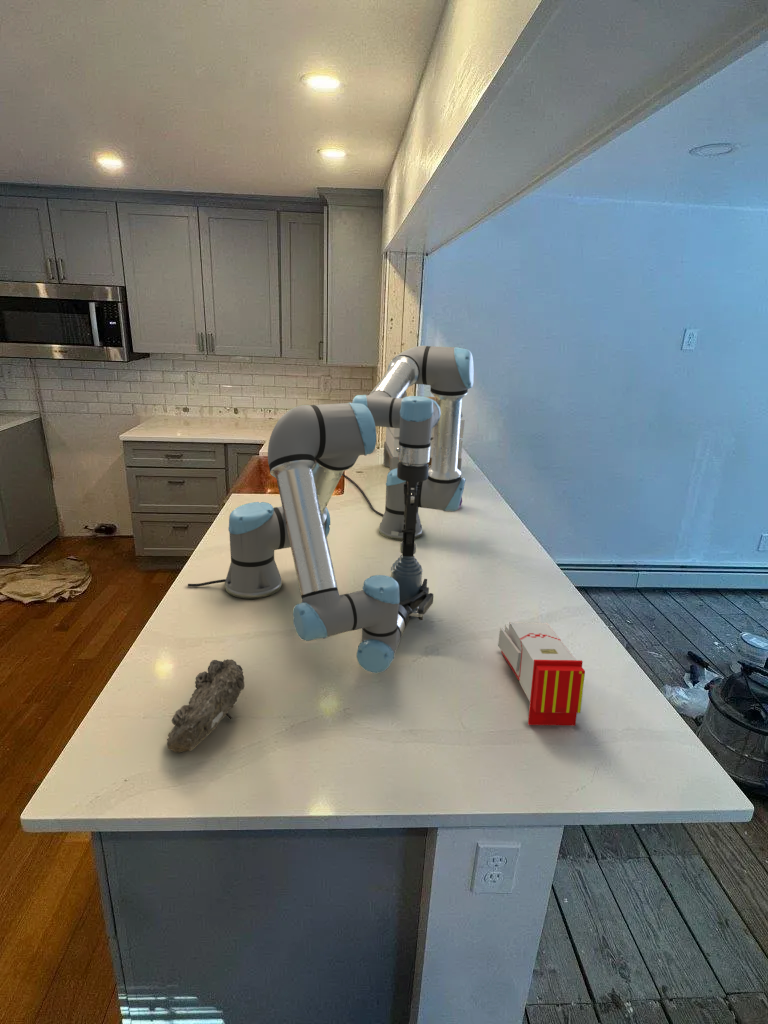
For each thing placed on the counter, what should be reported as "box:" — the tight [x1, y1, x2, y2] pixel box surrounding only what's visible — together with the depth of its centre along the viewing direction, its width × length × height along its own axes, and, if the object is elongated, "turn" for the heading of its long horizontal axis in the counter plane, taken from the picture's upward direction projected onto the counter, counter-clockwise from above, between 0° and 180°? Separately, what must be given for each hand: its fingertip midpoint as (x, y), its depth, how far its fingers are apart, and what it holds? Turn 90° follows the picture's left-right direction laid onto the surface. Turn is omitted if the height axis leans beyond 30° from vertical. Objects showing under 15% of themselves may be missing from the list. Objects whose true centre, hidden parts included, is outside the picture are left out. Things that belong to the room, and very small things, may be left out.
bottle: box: [389, 553, 424, 619], centre depth 146 cm, size 8×8×18 cm
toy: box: [497, 621, 586, 727], centre depth 121 cm, size 12×13×30 cm
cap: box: [399, 541, 417, 555], centre depth 143 cm, size 4×4×2 cm
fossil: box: [166, 658, 245, 754], centre depth 106 cm, size 22×10×15 cm
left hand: (409, 581), depth 152 cm, fingers closed on bottle, 8 cm apart
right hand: (407, 551), depth 144 cm, fingers closed on cap, 4 cm apart
